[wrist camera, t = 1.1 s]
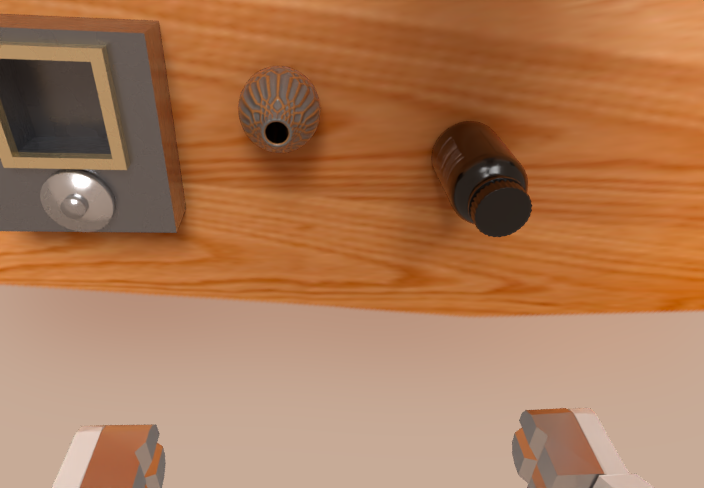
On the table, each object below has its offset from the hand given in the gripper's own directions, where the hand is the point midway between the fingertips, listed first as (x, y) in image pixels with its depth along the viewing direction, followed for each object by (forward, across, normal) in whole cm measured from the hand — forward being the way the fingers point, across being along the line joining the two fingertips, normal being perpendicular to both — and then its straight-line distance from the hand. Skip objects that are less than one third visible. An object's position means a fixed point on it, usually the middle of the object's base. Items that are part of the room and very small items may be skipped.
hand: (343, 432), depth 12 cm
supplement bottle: (+40, -15, +11) cm, 44 cm away
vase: (+40, +3, +5) cm, 40 cm away
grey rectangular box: (+40, +21, +8) cm, 46 cm away
